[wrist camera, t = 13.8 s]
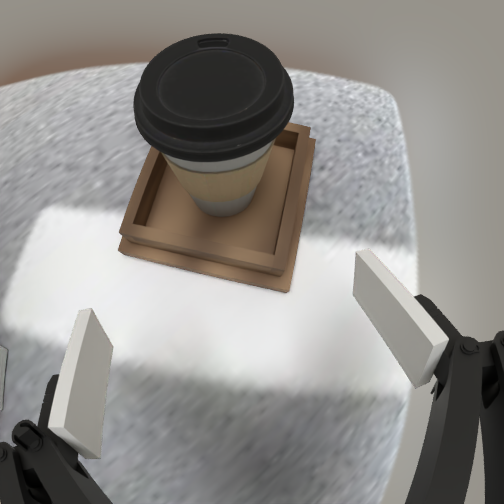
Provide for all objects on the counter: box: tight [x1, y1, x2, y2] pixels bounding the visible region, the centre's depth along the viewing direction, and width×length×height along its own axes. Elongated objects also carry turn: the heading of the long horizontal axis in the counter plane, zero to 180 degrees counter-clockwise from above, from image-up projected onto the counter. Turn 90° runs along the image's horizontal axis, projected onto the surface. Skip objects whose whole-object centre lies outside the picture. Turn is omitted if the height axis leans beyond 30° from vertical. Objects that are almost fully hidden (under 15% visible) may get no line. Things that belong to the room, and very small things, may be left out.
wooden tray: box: [118, 122, 316, 293], centre depth 29 cm, size 16×16×4 cm
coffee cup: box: [134, 33, 294, 217], centre depth 22 cm, size 9×9×15 cm
